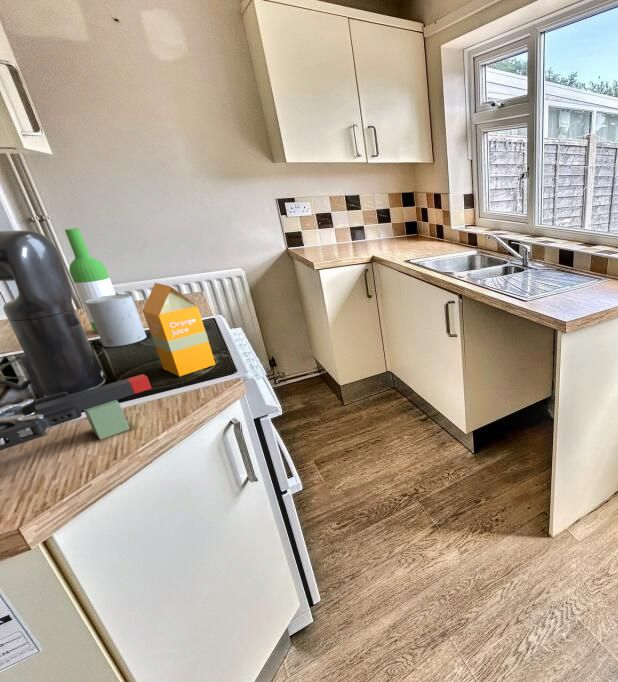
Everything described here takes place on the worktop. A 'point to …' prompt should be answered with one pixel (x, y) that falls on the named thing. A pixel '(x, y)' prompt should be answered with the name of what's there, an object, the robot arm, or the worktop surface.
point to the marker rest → (107, 419)
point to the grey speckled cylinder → (116, 320)
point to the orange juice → (177, 331)
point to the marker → (98, 395)
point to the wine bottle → (87, 273)
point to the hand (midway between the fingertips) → (74, 403)
